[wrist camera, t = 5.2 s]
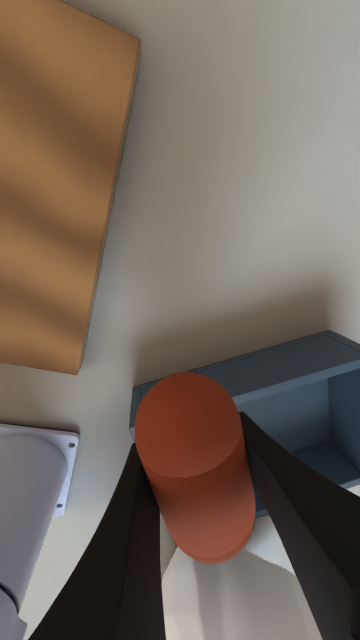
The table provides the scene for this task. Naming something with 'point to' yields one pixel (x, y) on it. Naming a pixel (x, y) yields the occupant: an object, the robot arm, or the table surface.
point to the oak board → (57, 172)
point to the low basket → (297, 401)
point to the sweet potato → (197, 465)
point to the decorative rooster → (234, 601)
